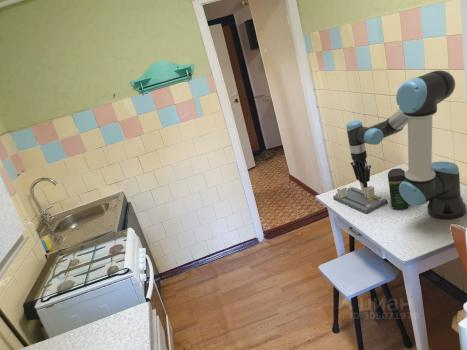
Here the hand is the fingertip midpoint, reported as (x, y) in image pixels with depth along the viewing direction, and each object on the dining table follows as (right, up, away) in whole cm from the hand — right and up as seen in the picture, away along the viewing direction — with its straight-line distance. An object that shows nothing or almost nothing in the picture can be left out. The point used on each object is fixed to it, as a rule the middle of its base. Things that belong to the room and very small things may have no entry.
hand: (365, 192), depth 198 cm
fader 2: (+2, -2, -3) cm, 4 cm away
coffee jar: (+12, -6, -14) cm, 20 cm away
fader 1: (-10, -2, +6) cm, 12 cm away
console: (-3, -5, 0) cm, 5 cm away
